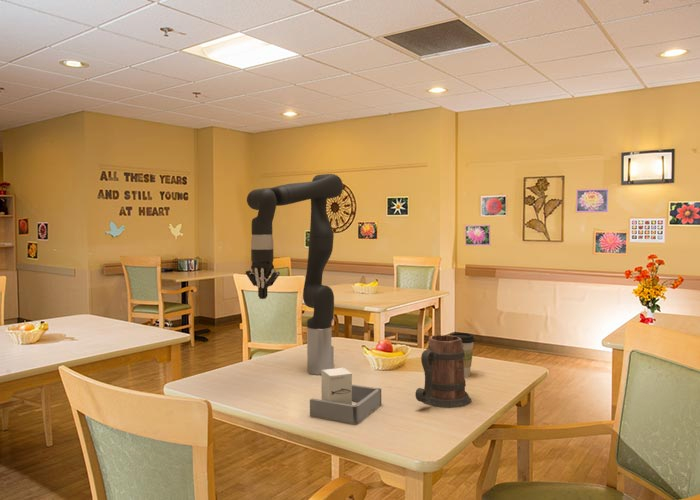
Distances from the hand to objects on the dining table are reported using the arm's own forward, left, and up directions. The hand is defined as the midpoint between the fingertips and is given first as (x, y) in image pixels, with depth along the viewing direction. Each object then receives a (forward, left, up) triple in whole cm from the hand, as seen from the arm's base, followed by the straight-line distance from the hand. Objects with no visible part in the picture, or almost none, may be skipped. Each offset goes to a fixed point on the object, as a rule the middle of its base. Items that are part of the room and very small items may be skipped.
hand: (262, 298), depth 183 cm
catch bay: (-11, +34, -31) cm, 47 cm away
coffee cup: (-67, +28, -31) cm, 79 cm away
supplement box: (-8, +34, -31) cm, 47 cm away
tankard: (-40, +45, -31) cm, 68 cm away
